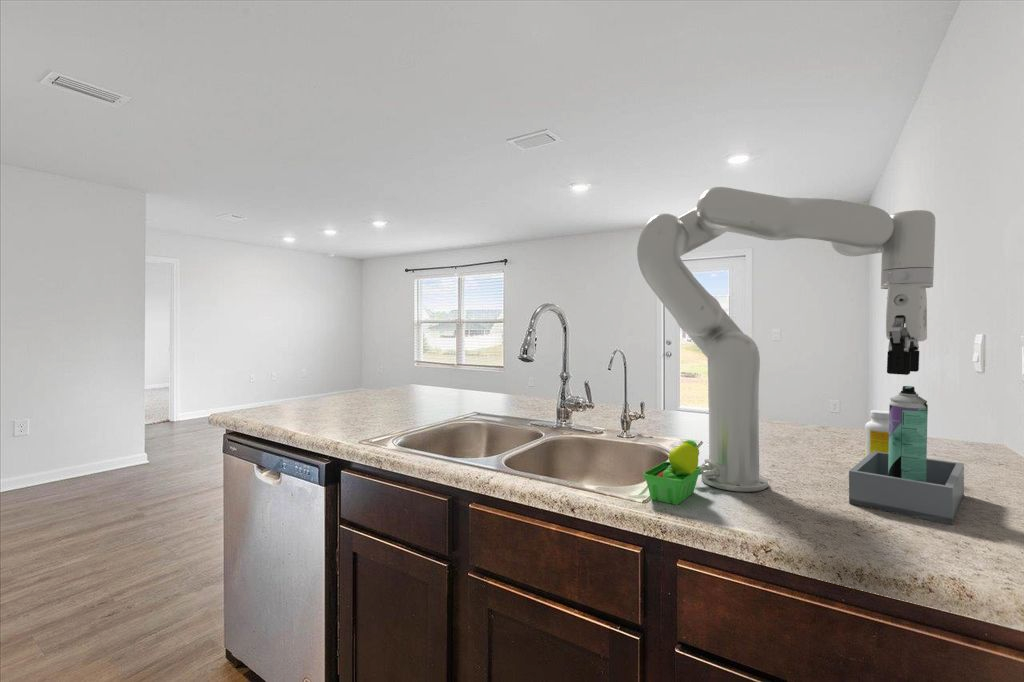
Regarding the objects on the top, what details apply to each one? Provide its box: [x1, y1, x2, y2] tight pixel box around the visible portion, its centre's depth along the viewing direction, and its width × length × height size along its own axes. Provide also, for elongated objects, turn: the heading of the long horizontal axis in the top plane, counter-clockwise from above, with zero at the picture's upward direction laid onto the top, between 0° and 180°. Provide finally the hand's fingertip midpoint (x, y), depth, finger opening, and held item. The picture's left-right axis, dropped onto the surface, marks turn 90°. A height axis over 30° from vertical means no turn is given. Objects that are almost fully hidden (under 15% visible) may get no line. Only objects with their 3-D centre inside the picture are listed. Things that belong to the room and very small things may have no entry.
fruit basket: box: [643, 439, 701, 506], centre depth 93 cm, size 11×9×11 cm
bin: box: [848, 451, 965, 526], centre depth 90 cm, size 20×14×6 cm
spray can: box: [888, 385, 929, 482], centre depth 90 cm, size 6×6×20 cm
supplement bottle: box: [864, 409, 889, 458], centre depth 110 cm, size 7×7×13 cm
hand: (903, 372), depth 90 cm, fingers open, 9 cm apart
